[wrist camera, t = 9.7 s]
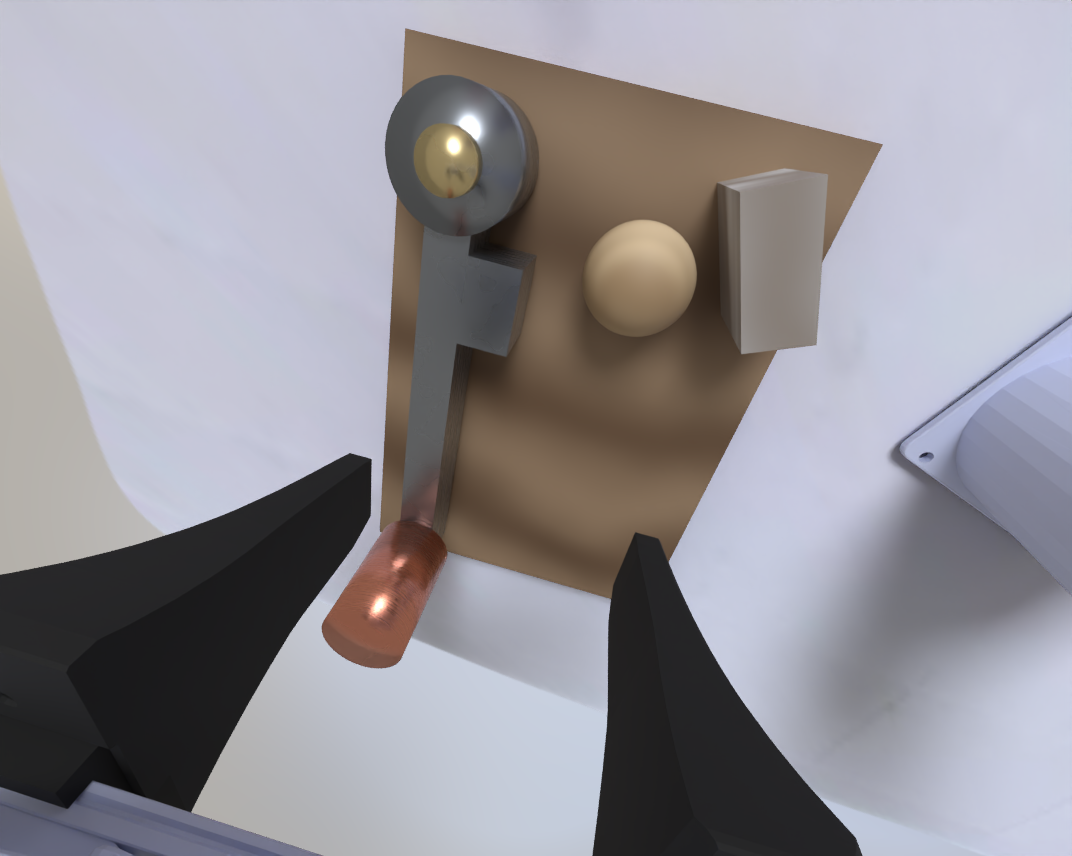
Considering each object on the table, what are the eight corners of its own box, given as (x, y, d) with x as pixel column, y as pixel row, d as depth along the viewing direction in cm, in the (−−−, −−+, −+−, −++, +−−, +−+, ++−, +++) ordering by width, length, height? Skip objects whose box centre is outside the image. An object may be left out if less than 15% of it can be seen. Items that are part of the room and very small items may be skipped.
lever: (429, 73, 15) (275, 18, 9) (568, 108, 15) (516, 76, 9) (395, 521, 26) (313, 650, 19) (477, 545, 25) (423, 684, 19)
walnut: (602, 201, 16) (594, 213, 13) (707, 227, 16) (724, 246, 13) (575, 304, 18) (563, 336, 15) (669, 328, 18) (676, 366, 15)
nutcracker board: (423, 37, 16) (338, -7, 12) (862, 144, 16) (959, 143, 11) (391, 514, 28) (342, 588, 23) (644, 587, 27) (646, 678, 22)
